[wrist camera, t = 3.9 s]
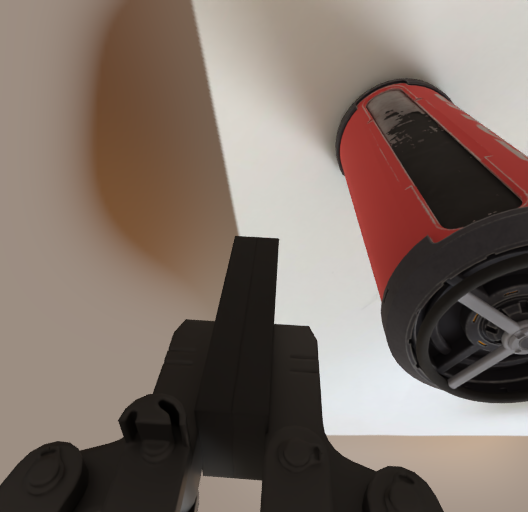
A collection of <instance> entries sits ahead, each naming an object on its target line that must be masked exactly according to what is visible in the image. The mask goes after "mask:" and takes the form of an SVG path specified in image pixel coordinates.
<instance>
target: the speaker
mask: <svg viewBox="0 0 528 512" xmlns="http://www.w3.org/2000/svg"><path fill="white" fill-rule="evenodd" d="M336 156H337V160H338V164H339V167H340V170H341V172H342V174H343V175H344V176H345V178H346V181H347V185H348V188H349V191H350V195H351V198H352V202H353V205H354V209H355V212H356V216H357V219H358V223H359V226H360V229H361V233H362V236H363V240H364V243H365V246H366V250H367V253H368V257H369V260H370V264H371V267H372V270H373V274H374V277H375V281H376V284H377V288H378V291H379V294H380V298H381V301H382V304H381V317H382V324H383V328H384V331H385V335H386V339H387V342H388V346H389V348H390V351H391V353H392V355H393V357H394V358H395V360H396V361H397V363H398V364H399V365H400V366H401V367H402V368H403V369H404V370H405V371H406V372H407V373H408V374H410V375H411V376H412V377H414V378H416V379H417V380H419V381H421V382H423V383H425V384H427V385H430V386H432V387H435V388H438V389H441V390H444V391H446V392H448V393H450V394H452V395H455V396H457V397H460V398H464V399H468V400H472V401H478V402H487V403H516V402H525V401H528V157H527V156H526V155H524V154H523V153H521V152H520V151H519V150H517V149H516V148H514V147H513V146H512V145H510V144H509V143H507V142H506V141H505V140H503V139H502V138H500V137H499V136H498V135H496V134H495V133H493V132H492V131H491V130H489V129H488V128H486V127H485V126H483V125H482V124H481V123H479V122H478V121H476V120H475V119H474V118H472V117H471V116H469V115H468V114H467V113H465V112H464V111H462V110H461V109H460V108H458V107H457V106H455V105H454V104H453V102H452V101H451V100H450V98H449V97H448V96H447V95H446V94H445V93H443V92H442V91H440V90H439V89H438V88H436V87H435V86H433V85H431V84H429V83H427V82H424V81H421V80H416V79H396V80H391V81H387V82H385V83H382V84H380V85H377V86H375V87H373V88H372V89H370V90H368V91H367V92H365V93H364V94H363V95H361V96H360V97H359V98H358V99H357V100H356V101H355V102H354V103H353V104H352V106H351V107H350V108H349V110H348V111H347V112H346V114H345V115H344V117H343V119H342V121H341V124H340V126H339V129H338V133H337V138H336Z"/></svg>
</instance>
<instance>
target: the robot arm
mask: <svg viewBox="0 0 528 512" xmlns="http://www.w3.org/2000/svg"><path fill="white" fill-rule="evenodd" d="M278 246H279V239H278V238H260V237H242V236H235V239H234V243H233V247H232V252H231V256H230V260H229V264H228V269H227V273H226V277H225V281H224V286H223V290H222V294H221V298H220V302H219V307H218V311H217V315H216V320H215V321H202V320H187V319H186V320H185V321H184V322H183V323H182V324H181V325H180V326H179V328H178V329H177V330H176V331H175V332H174V335H173V337H172V340H171V343H170V346H169V351H167V355H166V357H165V360H164V364H163V366H162V369H161V372H160V375H159V378H158V380H157V383H156V386H155V389H154V392H153V394H148V395H146V396H144V397H141V398H139V399H137V400H135V401H134V402H133V403H132V404H131V405H129V406H128V407H127V408H126V409H125V410H124V412H123V413H122V415H121V417H120V418H119V420H118V421H119V424H120V427H121V430H122V433H123V436H124V437H123V438H122V439H120V440H117V441H115V442H112V443H109V444H105V445H101V446H97V447H93V448H89V449H85V450H81V451H79V449H78V448H76V447H75V446H73V445H72V444H71V443H68V442H60V441H57V442H53V443H48V444H44V445H42V446H41V447H39V448H37V449H35V450H33V451H32V452H30V453H29V454H28V455H27V456H26V457H25V458H24V459H23V460H22V461H20V463H18V464H17V466H16V467H15V468H14V469H13V471H12V472H11V473H10V474H9V475H8V477H7V478H6V479H5V480H4V481H3V483H2V484H1V485H0V512H197V511H198V505H199V492H198V487H199V481H200V476H201V471H203V476H213V477H227V478H239V479H251V480H262V494H261V510H260V512H444V511H443V509H442V507H441V505H440V503H439V501H438V499H437V497H436V495H435V494H434V493H433V491H432V490H431V488H430V487H429V485H428V484H427V483H426V482H425V481H424V480H423V479H422V478H421V477H419V476H418V475H417V474H416V473H415V472H412V471H410V470H407V469H405V468H403V467H396V466H394V467H393V466H387V467H385V468H383V469H380V470H378V471H377V472H376V471H374V470H372V469H369V468H367V467H364V466H362V465H360V464H358V463H355V462H353V461H351V460H349V459H347V458H345V457H344V456H342V455H341V454H340V453H339V452H338V451H336V450H335V449H334V447H333V446H332V445H331V443H330V442H329V441H328V438H327V436H326V434H325V432H324V427H323V418H322V404H321V389H320V374H319V360H318V345H317V339H316V338H315V336H314V334H313V332H312V331H311V329H310V327H309V326H296V325H281V324H274V315H275V297H276V280H277V263H278Z"/></svg>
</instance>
